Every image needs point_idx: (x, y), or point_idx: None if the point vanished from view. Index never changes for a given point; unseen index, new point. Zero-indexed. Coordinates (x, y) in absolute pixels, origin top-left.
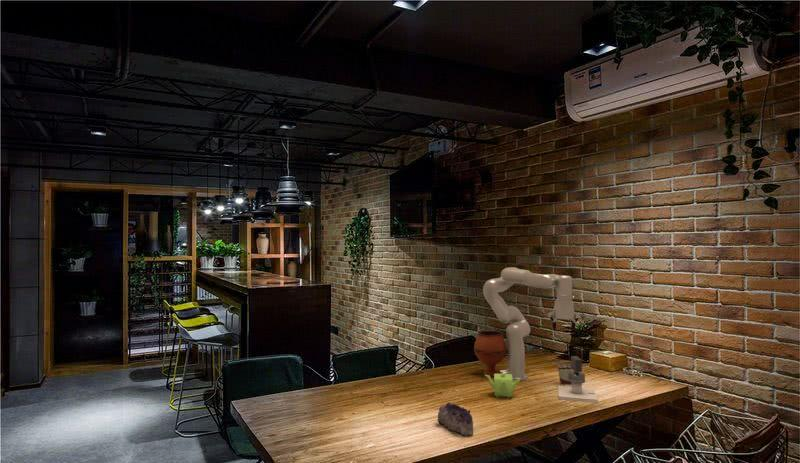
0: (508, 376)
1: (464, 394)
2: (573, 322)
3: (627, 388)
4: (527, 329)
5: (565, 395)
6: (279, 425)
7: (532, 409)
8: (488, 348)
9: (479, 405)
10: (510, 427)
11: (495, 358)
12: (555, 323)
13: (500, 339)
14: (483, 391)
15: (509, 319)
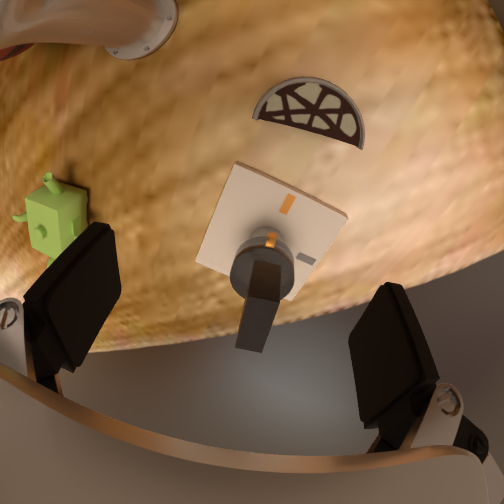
0: (52, 231)
1: (18, 194)
2: (383, 426)
3: (456, 209)
4: None
5: (217, 259)
6: None
7: (125, 297)
8: None
9: (45, 257)
10: (96, 339)
11: (29, 47)
12: (75, 358)
13: None
14: (40, 174)
15: None
